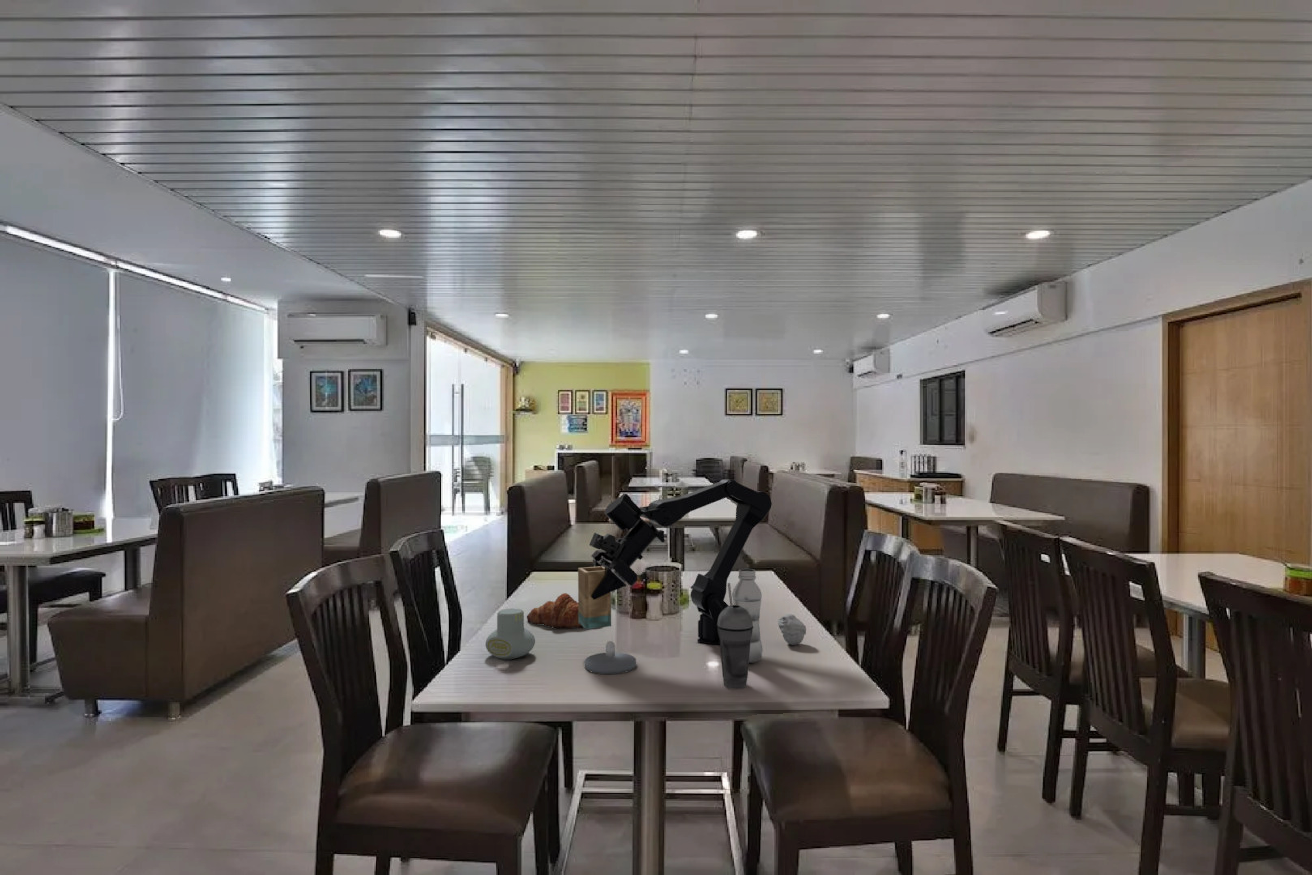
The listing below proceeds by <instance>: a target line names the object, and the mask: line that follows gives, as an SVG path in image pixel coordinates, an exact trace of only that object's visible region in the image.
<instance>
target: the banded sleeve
mask: <svg viewBox="0 0 1312 875" xmlns="http://www.w3.org/2000/svg"><path fill="white" fill-rule="evenodd" d="M604 573H605V567H604V566H598V567H594V566H588V567H586V566H585V567H578V568H577V577H578V578H577V579H578V580H577V584H578V585H577V588H578V589H577V590H578V593H577V595H578V596H577V598H578V599H577V600H578V601H577V603H578V618H579V623H580V624H581V625H582V626H583V627H582V628H584V630H588V629H590V630H591V629H598V628H608V627H609V628H610V627H612V592H610V593H608V594H606V595H603V596H601V597H599V598H597V599H595V600H594V599H593V598H592V597H591V595H592V593H593V592H594V590H595V589H596V587H597V586H598V584H599V583H600V582H601V580H602V579H603V577H604Z"/></svg>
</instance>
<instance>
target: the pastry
mask: <svg viewBox="0 0 1312 875" xmlns="http://www.w3.org/2000/svg"><path fill="white" fill-rule="evenodd" d="M526 621H527V622H528V623H531V622H532V623H531V624H534V625H537V624H544V625H543V626H545V625H546V626H550V627H549V628H551V627H553V628H552V629H554V628H556V629H557V628H559V629H573V628H572V627H579V628H582V627H581V626H582V625H581V624H580V623H579V618H578V601H576V600H575V599H574V598H573V597H572V596H571V595H570V594H569V593H567V592H565V593H564V592H563V593H561V594H560V595H559V596H557V598H556V599H555V601H552V600H548V601H546V602H545V603H544V604H542V605H541V606H539V607H534V608H532V609H531V610H530V611H529V613H528V614H527V615H526ZM546 626H545V627H546Z"/></svg>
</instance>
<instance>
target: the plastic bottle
mask: <svg viewBox="0 0 1312 875" xmlns="http://www.w3.org/2000/svg"><path fill="white" fill-rule="evenodd" d="M737 577H738V579H739V581H738V582H737V583H736V585H735V586H734V588H733V590H732V592H731V595H732V603H733V605H738V606H741V607H743V608H744V609H746V610H747V611H748V613H749V614H750V616H751V619H752V623H753V631H752V637H751V641H750V654H749V664H750V663H751V664H752V663H753V664H754V663H758V662H760V660H761V659H762V656H763V642H762V640H761V631H760V617H761V616H760V615H761V614H760V612H761V604H762V595H763V594H762V591H761V589H760V587H759V585H758V584H757V582H756V579H757V577H756V569H754V568H740V569H739V570H738V576H737Z"/></svg>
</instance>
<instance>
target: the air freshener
mask: <svg viewBox="0 0 1312 875" xmlns="http://www.w3.org/2000/svg"><path fill="white" fill-rule="evenodd" d="M524 612H525V611H523V609H520V608H504V609H500V610H499V611H497V613H496V614H497V616H496V630H494V631H492V632H491V633H490V634H488V637H486V639H485V648H486V650H487V652H488V653H489V654H490V655H491V656H493V657H496V658H498V659H500V660H503V661H504V660H505V661H507V660H508V661H509V660H513V659H519V658H523V657H524V656H526V655H527V654H529V653H530V652H531V651H532V650H533V649H534V647H535V644H536V638H535V635H534V634H533V633H532V632H531V630H529V629H527V628H525V621H524V620H525V616H524V614H525V613H524Z"/></svg>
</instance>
